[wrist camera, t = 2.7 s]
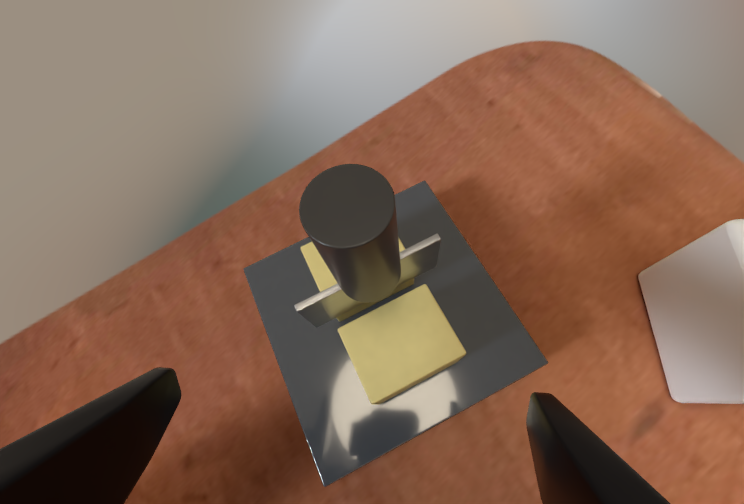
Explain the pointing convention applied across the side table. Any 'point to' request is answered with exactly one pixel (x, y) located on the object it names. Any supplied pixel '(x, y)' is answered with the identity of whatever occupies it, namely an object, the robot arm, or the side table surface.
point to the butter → (393, 336)
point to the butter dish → (324, 345)
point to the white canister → (701, 316)
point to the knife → (357, 241)
